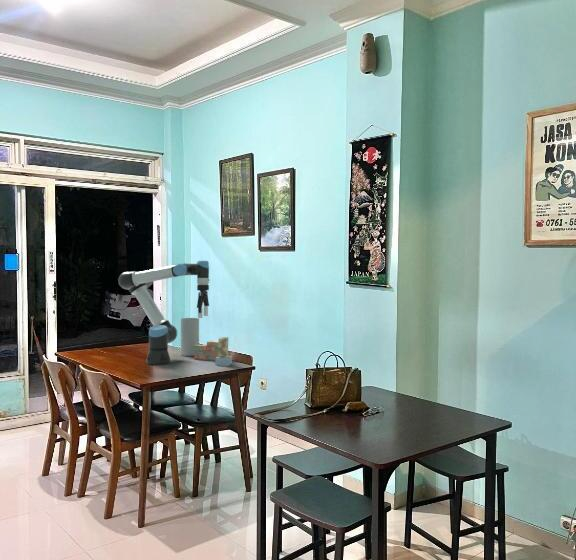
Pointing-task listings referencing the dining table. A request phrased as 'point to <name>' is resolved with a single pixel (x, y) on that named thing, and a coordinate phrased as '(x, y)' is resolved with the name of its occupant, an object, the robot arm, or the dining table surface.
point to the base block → (223, 361)
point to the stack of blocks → (207, 350)
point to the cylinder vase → (189, 335)
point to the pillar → (223, 347)
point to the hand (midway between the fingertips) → (203, 316)
